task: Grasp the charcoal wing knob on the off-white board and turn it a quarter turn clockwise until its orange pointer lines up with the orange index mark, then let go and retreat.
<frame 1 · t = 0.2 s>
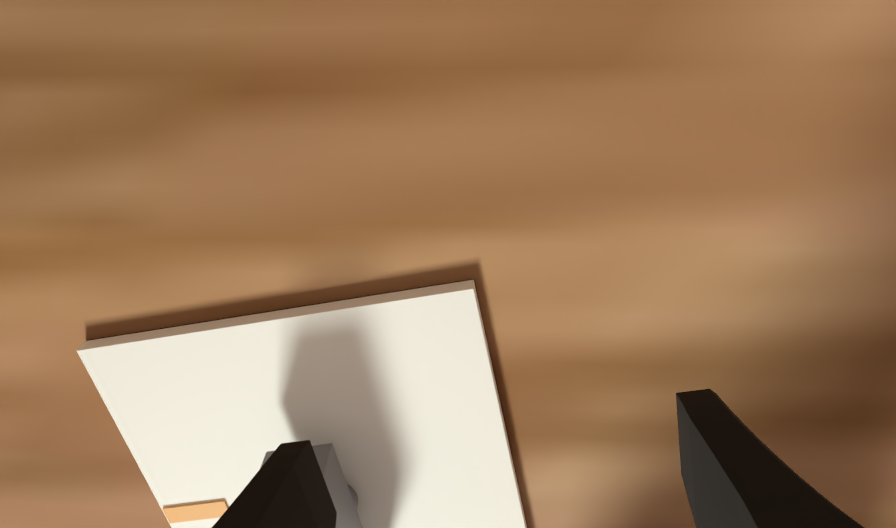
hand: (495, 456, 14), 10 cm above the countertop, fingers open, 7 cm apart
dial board: (335, 482, 28), on the countertop
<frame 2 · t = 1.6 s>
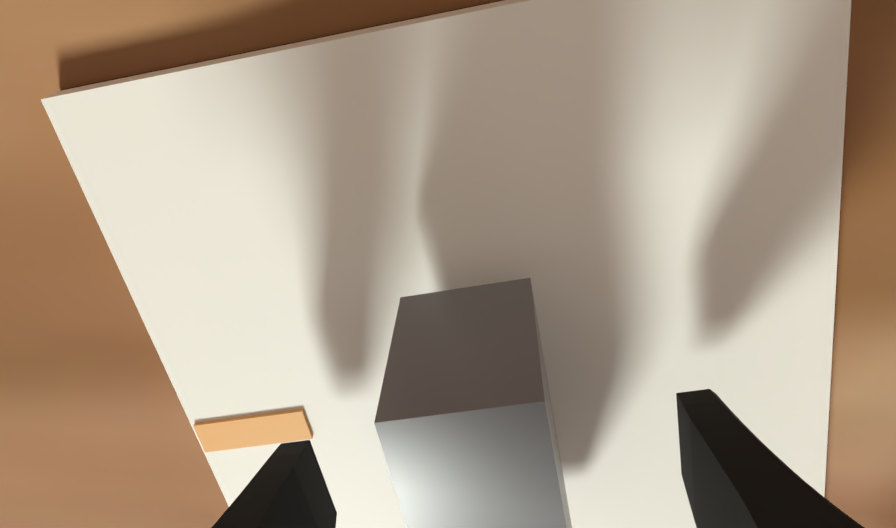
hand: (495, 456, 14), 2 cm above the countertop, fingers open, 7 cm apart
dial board: (495, 381, 16), on the countertop
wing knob: (497, 483, 13), point 3 cm above the countertop, hinge at 0.0°
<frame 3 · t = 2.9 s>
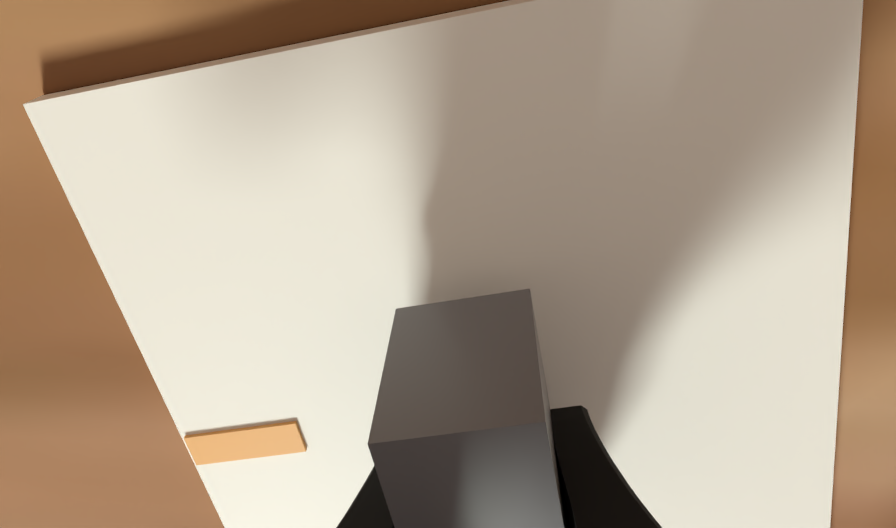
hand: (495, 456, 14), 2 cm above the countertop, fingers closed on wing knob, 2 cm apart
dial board: (494, 392, 16), on the countertop
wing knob: (496, 500, 13), point 3 cm above the countertop, hinge at 0.0°, touching gripper
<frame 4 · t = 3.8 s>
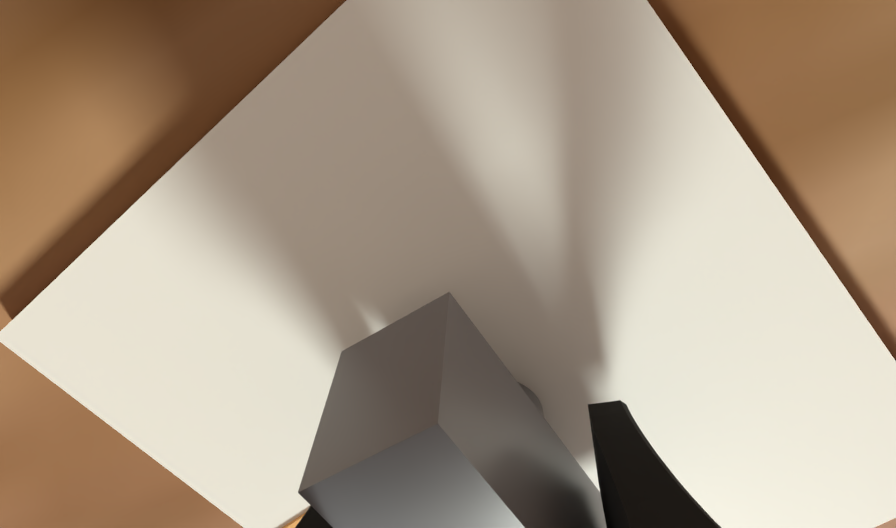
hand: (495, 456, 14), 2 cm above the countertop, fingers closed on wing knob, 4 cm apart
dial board: (495, 392, 16), on the countertop
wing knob: (497, 499, 13), point 3 cm above the countertop, hinge at -6.9°, touching gripper
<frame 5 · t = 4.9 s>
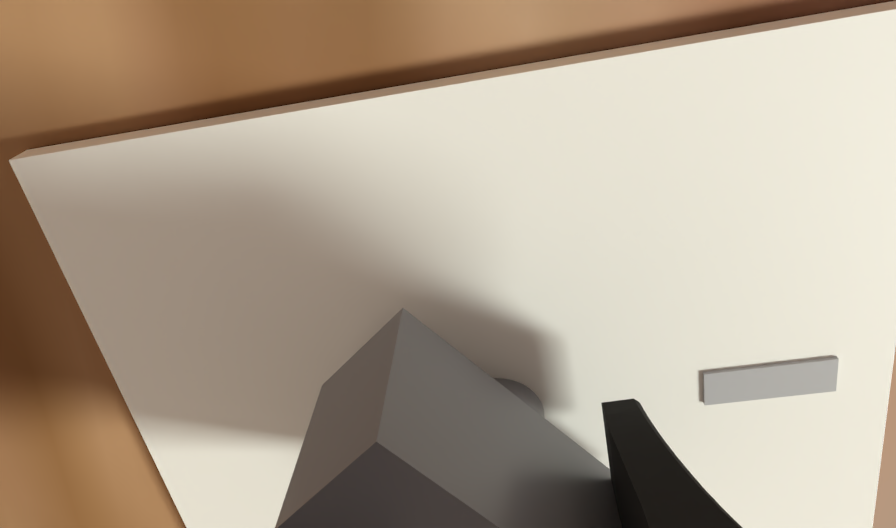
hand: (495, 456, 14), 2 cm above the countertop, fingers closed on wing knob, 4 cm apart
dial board: (496, 392, 16), on the countertop
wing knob: (498, 499, 13), point 3 cm above the countertop, hinge at -52.5°, touching gripper
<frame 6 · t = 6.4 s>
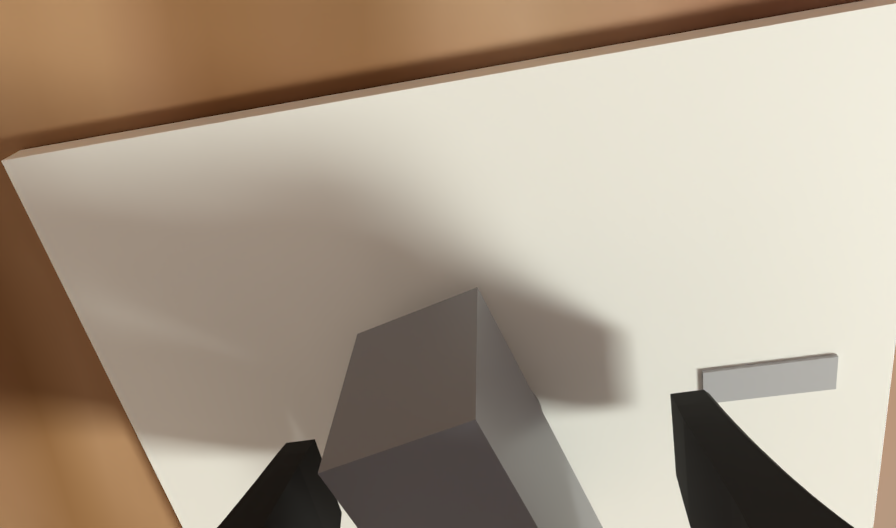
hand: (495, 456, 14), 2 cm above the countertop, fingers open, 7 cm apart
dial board: (494, 392, 16), on the countertop
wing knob: (496, 500, 13), point 3 cm above the countertop, hinge at -75.0°
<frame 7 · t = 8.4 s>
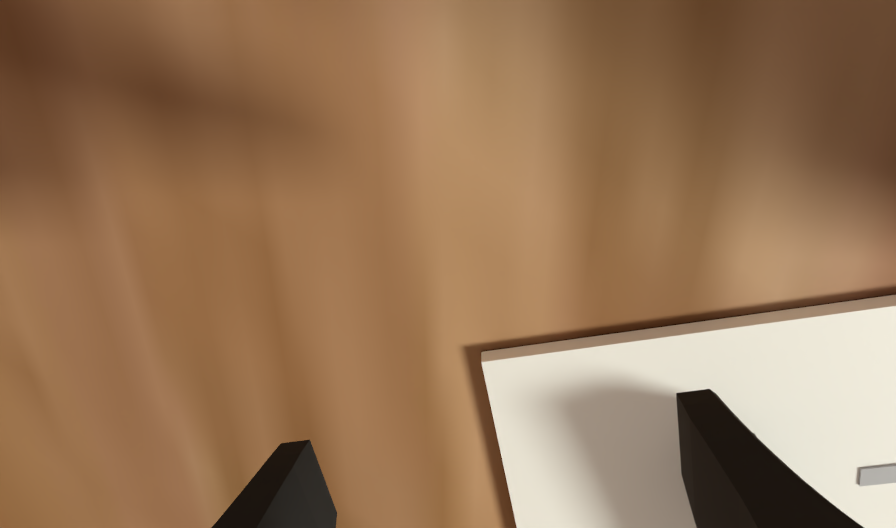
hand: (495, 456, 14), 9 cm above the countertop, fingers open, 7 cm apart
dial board: (728, 477, 26), on the countertop
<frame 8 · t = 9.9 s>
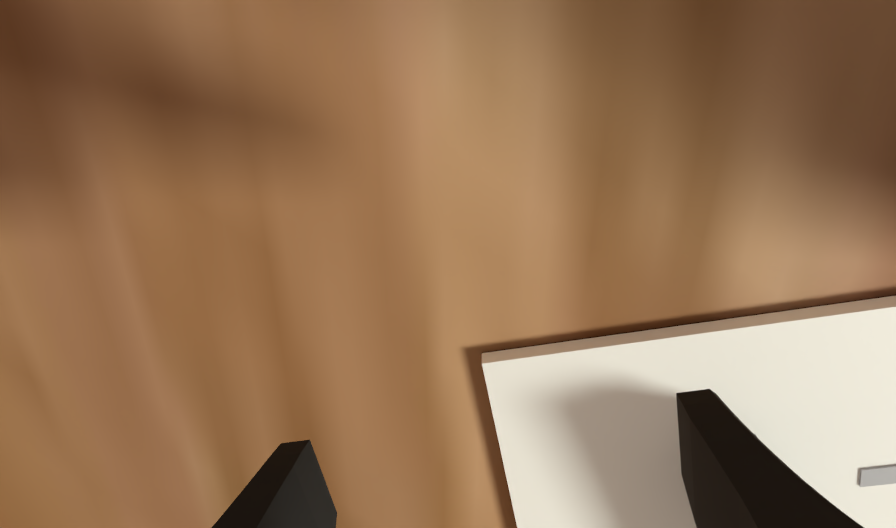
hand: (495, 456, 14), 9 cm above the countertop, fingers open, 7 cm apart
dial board: (728, 478, 26), on the countertop
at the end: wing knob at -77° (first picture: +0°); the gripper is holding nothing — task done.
